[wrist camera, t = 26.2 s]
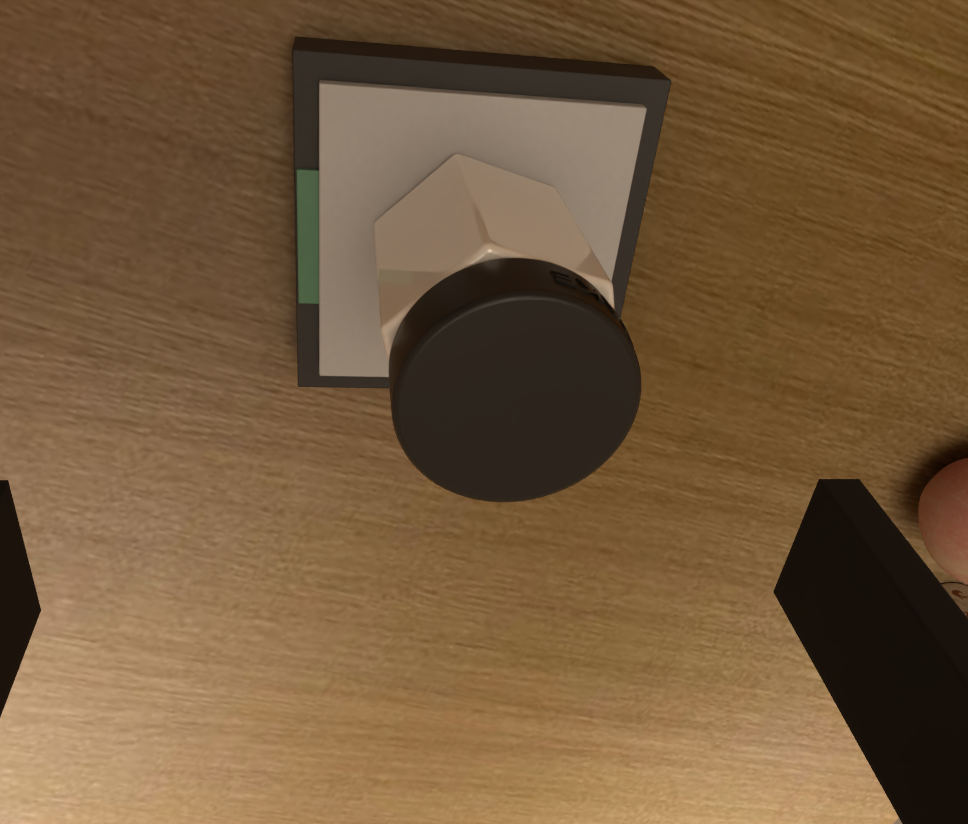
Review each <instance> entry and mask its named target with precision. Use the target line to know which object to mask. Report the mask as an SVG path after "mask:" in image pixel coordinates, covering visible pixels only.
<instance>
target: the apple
mask: <svg viewBox="0 0 968 824" xmlns="http://www.w3.org/2000/svg"><path fill="white" fill-rule="evenodd" d="M918 521H919V527H920V531H921V534H922V537H923V540H924V543H925V545H926V548H927V550H928V551H929V553H930V555H931V556H932V558H933V559H934V560H935V561H936V563H937V564H938V565H939V566H940V567H941V568H942V569H943V570H945V571H946V572H947V573H949V574H950V575H951V576H953V577H954V578H956V579H957V580H959V581H961V582H963V583H965V584H967V585H968V458H965V459H961V460H958V461H955V462H953V463H951V464H949V465H947V466H946V467H944V468H943V469H942V470H940V471H939V472H938V473H937V474H936V475H935V476H934V477H933V478H932V479H931V480H930V481H929V482H928V483H927V485H926V486H925V488H924V489H923V491H922V494H921V496H920V500H919V507H918Z"/></svg>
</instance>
